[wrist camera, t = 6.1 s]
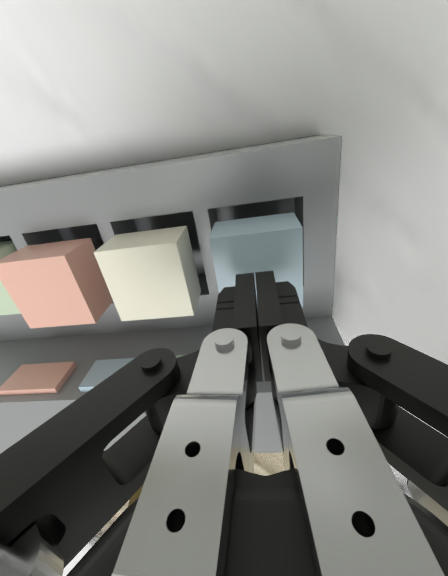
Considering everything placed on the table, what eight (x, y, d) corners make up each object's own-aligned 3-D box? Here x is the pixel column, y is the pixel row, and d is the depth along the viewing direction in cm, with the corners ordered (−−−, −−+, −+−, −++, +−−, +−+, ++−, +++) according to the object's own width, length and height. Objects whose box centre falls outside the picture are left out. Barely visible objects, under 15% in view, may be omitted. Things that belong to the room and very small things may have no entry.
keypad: (321, 134, 16) (402, 139, 8) (316, 337, 23) (354, 451, 15) (-49, 194, 19) (-272, 242, 11) (49, 354, 26) (-41, 455, 18)
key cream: (191, 218, 15) (176, 242, 12) (203, 280, 17) (193, 315, 14) (124, 227, 16) (93, 252, 13) (144, 286, 18) (121, 321, 15)
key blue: (290, 205, 15) (302, 227, 11) (292, 272, 17) (303, 307, 13) (217, 215, 15) (208, 238, 12) (227, 278, 17) (222, 313, 14)
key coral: (101, 230, 16) (64, 255, 13) (123, 288, 18) (95, 323, 15) (40, 238, 17) (-10, 264, 13) (68, 293, 19) (30, 328, 15)
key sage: (37, 232, 18) (-8, 254, 15) (63, 283, 20) (27, 313, 17) (-14, 238, 19) (-69, 261, 16) (15, 288, 21) (-28, 317, 18)
